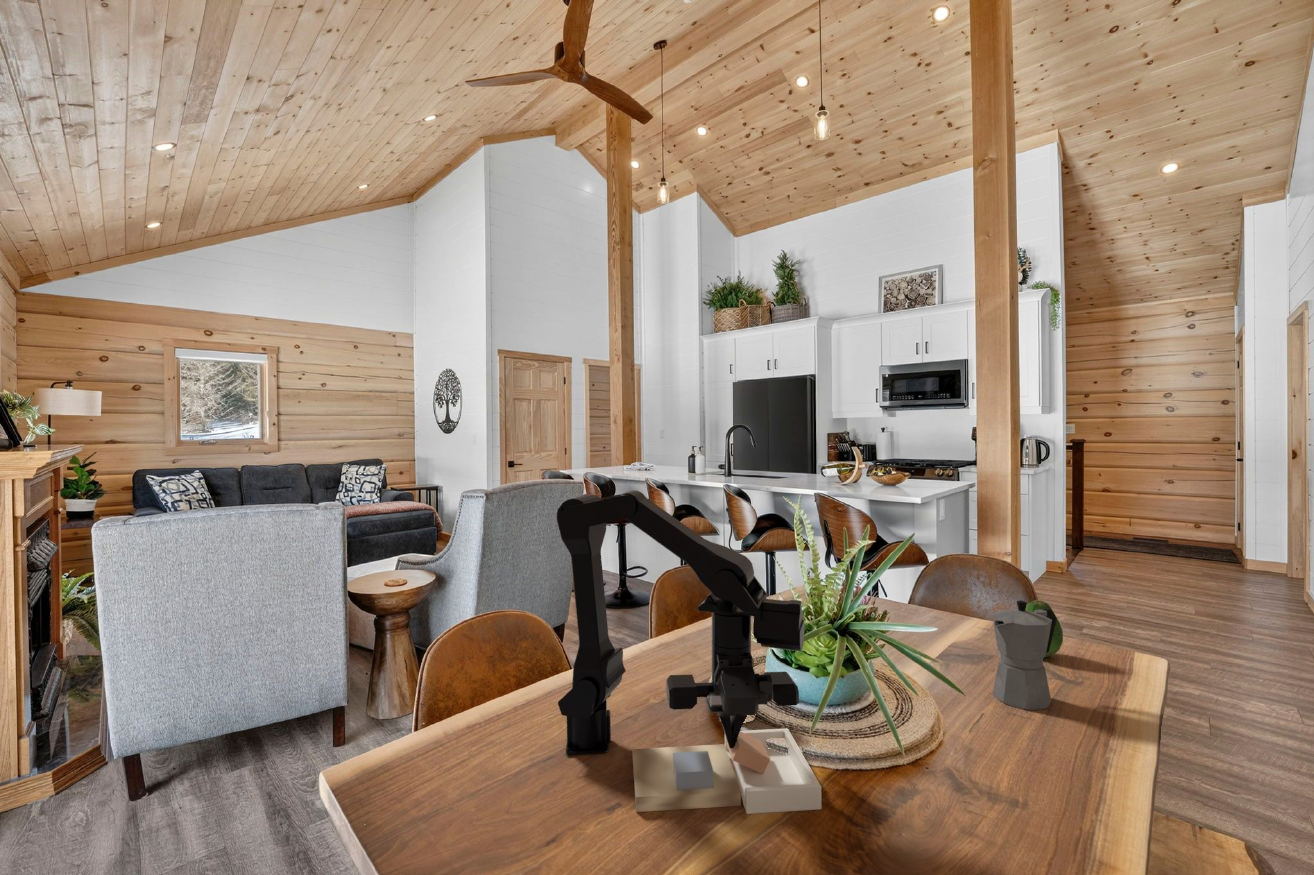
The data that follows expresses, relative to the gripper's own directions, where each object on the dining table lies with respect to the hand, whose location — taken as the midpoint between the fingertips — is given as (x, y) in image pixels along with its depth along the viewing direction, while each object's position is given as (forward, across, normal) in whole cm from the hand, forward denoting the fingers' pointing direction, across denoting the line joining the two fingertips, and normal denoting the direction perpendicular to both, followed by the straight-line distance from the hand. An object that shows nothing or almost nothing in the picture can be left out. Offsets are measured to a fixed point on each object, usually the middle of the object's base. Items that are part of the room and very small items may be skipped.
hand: (731, 747), depth 92 cm
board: (+4, -7, -2) cm, 8 cm away
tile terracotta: (+2, +2, 0) cm, 3 cm away
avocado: (+3, +74, +36) cm, 82 cm away
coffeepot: (+3, +58, +18) cm, 60 cm away
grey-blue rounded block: (+2, -6, -5) cm, 8 cm away
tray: (+3, +5, -2) cm, 6 cm away
